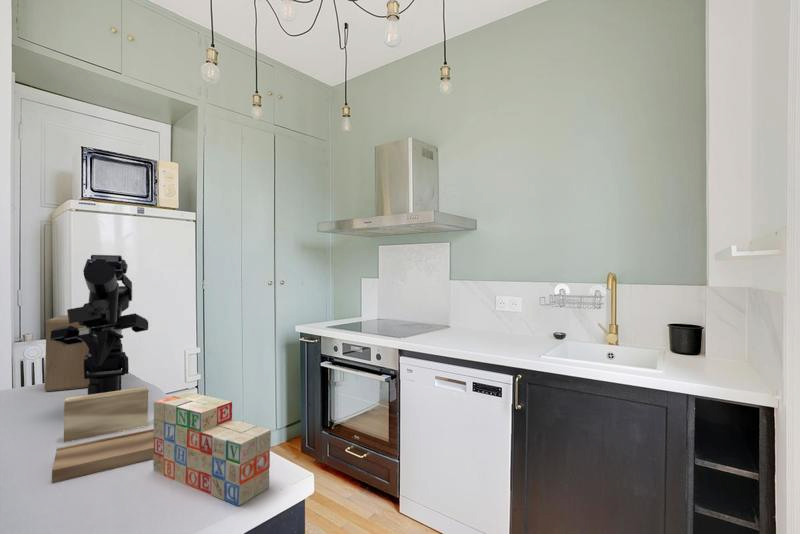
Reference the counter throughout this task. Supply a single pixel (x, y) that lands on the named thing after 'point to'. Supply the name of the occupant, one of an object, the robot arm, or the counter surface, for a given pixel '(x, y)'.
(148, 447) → the wooden molding strip
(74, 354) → the wooden block
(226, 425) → the stack of blocks
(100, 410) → the oak plank
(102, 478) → the counter surface
